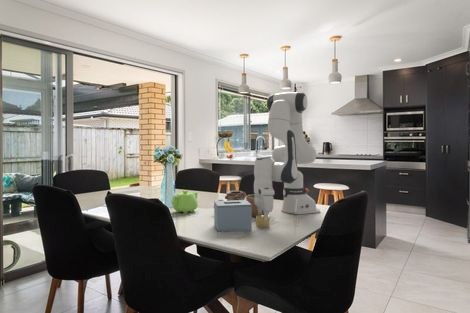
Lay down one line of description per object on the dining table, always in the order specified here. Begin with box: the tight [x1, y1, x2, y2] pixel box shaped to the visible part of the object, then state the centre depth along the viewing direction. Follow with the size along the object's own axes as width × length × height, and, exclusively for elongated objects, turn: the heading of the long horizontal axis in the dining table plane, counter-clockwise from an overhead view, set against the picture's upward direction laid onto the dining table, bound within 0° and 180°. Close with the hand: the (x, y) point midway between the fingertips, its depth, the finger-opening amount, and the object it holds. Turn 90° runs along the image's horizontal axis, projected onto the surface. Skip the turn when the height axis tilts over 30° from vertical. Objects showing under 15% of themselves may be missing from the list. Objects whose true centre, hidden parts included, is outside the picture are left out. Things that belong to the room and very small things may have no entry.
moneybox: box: [213, 199, 253, 233], centre depth 152 cm, size 16×12×12 cm
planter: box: [245, 194, 264, 218], centre depth 177 cm, size 12×12×11 cm
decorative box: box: [224, 190, 247, 201], centre depth 203 cm, size 13×20×10 cm, turn 154°
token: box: [255, 215, 270, 228], centre depth 155 cm, size 6×2×5 cm, turn 100°
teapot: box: [171, 190, 199, 215], centre depth 188 cm, size 20×13×13 cm
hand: (262, 217), depth 155 cm, fingers open, 8 cm apart
